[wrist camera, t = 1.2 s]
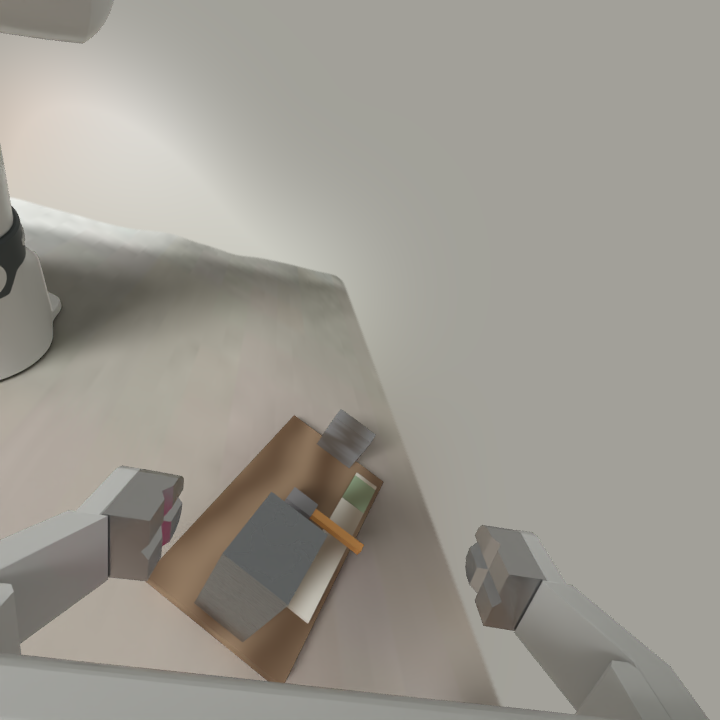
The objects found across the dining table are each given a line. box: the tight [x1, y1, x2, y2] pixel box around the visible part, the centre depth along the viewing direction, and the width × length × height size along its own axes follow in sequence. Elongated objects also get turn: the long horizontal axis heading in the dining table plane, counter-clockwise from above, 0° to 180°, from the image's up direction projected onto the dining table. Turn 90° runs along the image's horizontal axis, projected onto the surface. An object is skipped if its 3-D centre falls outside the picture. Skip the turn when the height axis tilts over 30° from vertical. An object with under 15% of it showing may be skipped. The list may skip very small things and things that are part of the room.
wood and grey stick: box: [285, 487, 364, 555], centre depth 38 cm, size 9×2×2 cm, turn 62°
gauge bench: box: [146, 409, 383, 683], centre depth 37 cm, size 14×22×8 cm, turn 152°
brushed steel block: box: [194, 492, 328, 642], centre depth 30 cm, size 5×10×12 cm, turn 152°
